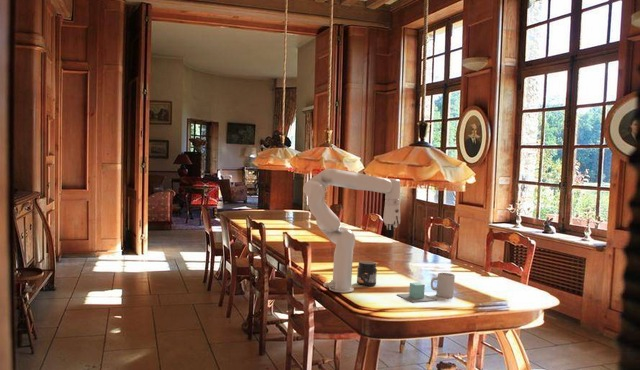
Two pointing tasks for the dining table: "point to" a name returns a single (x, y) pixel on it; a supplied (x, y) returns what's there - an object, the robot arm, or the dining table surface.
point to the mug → (444, 285)
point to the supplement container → (366, 273)
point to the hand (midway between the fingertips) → (390, 237)
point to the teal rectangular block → (416, 290)
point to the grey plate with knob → (413, 300)
